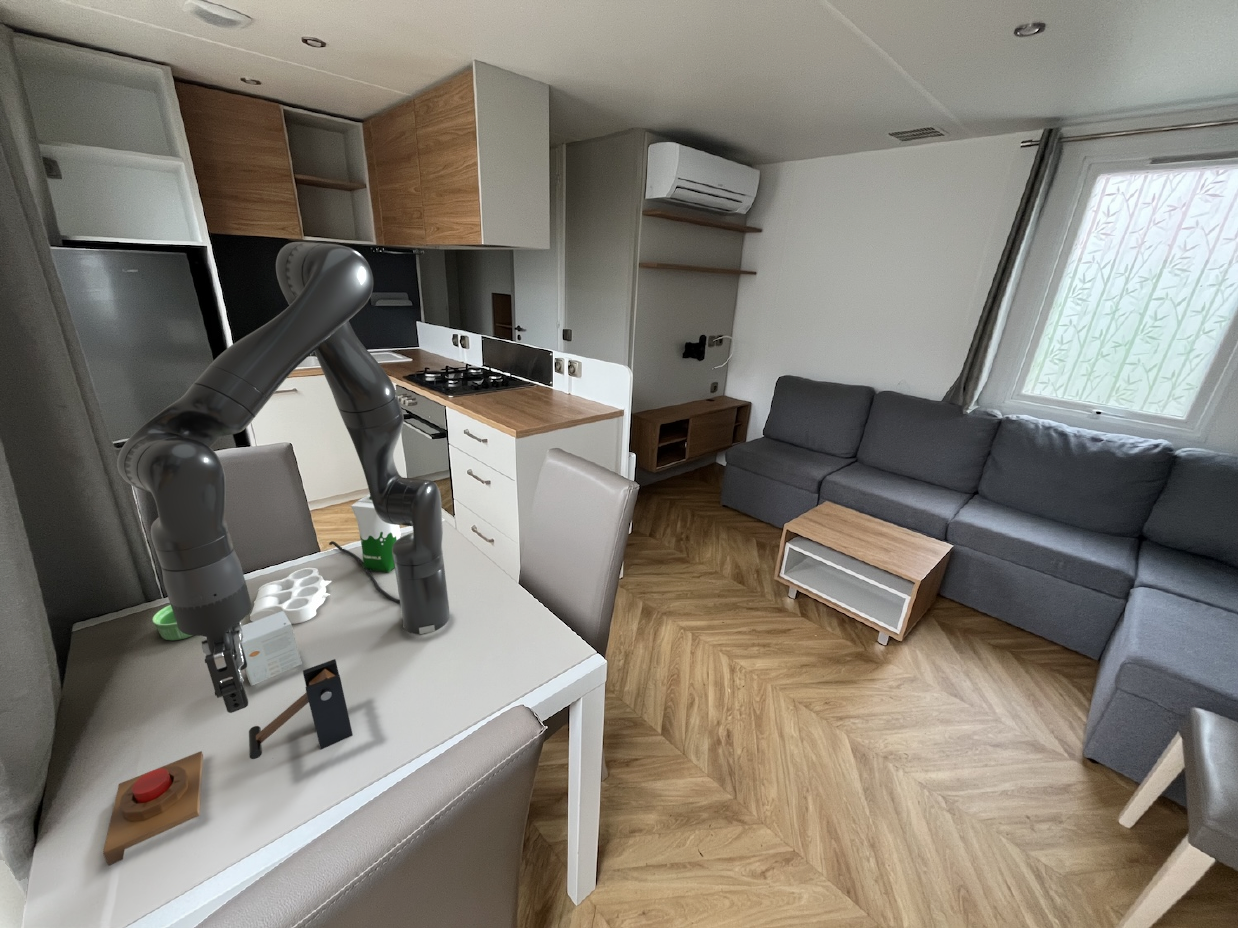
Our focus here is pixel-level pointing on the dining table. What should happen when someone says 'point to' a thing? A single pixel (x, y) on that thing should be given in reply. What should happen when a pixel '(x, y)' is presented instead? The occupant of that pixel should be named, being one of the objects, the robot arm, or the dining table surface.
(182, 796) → the button block
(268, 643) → the small box
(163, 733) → the dining table surface
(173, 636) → the ramekin
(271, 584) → the white brass knuckles
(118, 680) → the dining table surface
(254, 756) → the lever
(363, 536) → the milk carton
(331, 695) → the bracket
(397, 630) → the dining table surface
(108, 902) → the dining table surface
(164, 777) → the button
